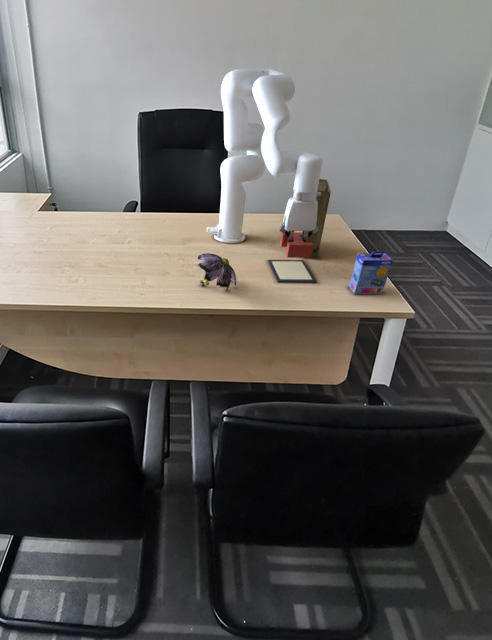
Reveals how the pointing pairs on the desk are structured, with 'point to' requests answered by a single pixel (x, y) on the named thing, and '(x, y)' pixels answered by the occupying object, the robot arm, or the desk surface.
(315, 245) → the book
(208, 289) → the desk surface
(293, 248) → the letter I
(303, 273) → the desk mat
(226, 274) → the decorative flower
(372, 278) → the ink cartridge box
